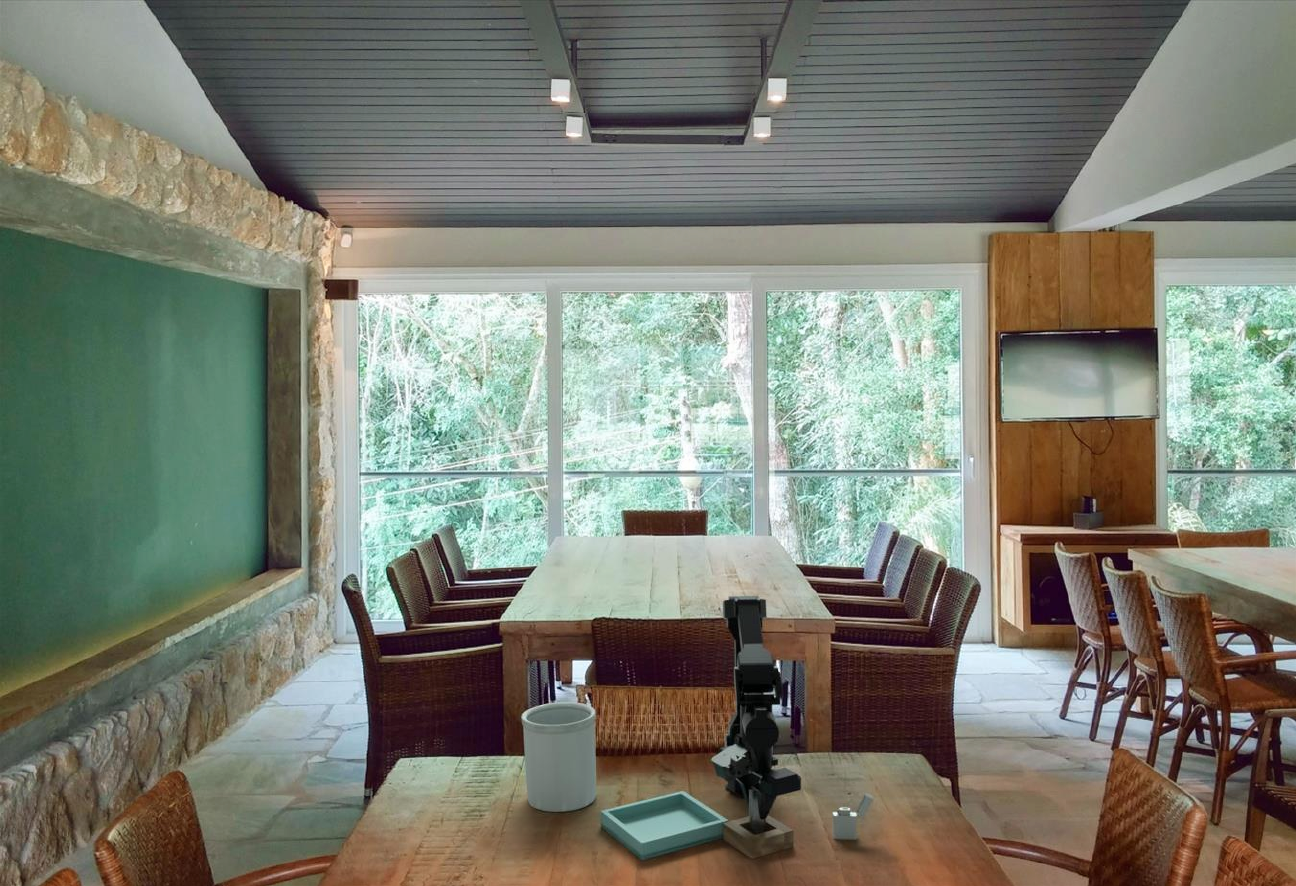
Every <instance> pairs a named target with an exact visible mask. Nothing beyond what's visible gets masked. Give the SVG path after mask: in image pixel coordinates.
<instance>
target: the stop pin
mask: <svg viewBox="0 0 1296 886" xmlns="http://www.w3.org/2000/svg"><path fill="white" fill-rule="evenodd" d="M748 814H749V815H748V816H749V828H750V833H752V834H754V835H757V834H760V833H764V832H766V819H763V820H761V819H760V815H759V807H758V797H757V792H756V791H755V790H754V789H753V788H752V787H751V786H750V787H749V810H748Z"/></svg>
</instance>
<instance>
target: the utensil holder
mask: <svg viewBox="0 0 1296 886" xmlns="http://www.w3.org/2000/svg"><path fill="white" fill-rule="evenodd" d="M596 716H597V714H596V710H595V708H594V707H593V706H590V705H588V704H586V703H581V702H570V701H562V702H561V701H559V702H558V701H557V702H550V703H545V704H541V705H536V706H534V707H531V708H529V709H527V710H525V711H524V712H523V713H522V714H521V718H520V719H521V723H522V727H523V731H522V732H523V746H524V747H523V748H524V749H523V750H524V765H525V766H524V767H525V780H526V781H525V782H526V795H527V801H528V804H529V806H531V807H532V808H534V809H536V810H539V811H544V812H549V813H551V812H552V813H561V812H562V813H563V812H564V813H565V812H572V811H576V810H579V809H582V808H585V807H587V806H589V805H591V804H592V803H593V802H594V801H595V799H596V796H597V759H596V758H597V755H596V725H595V724H596V722H595V721H596Z"/></svg>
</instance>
